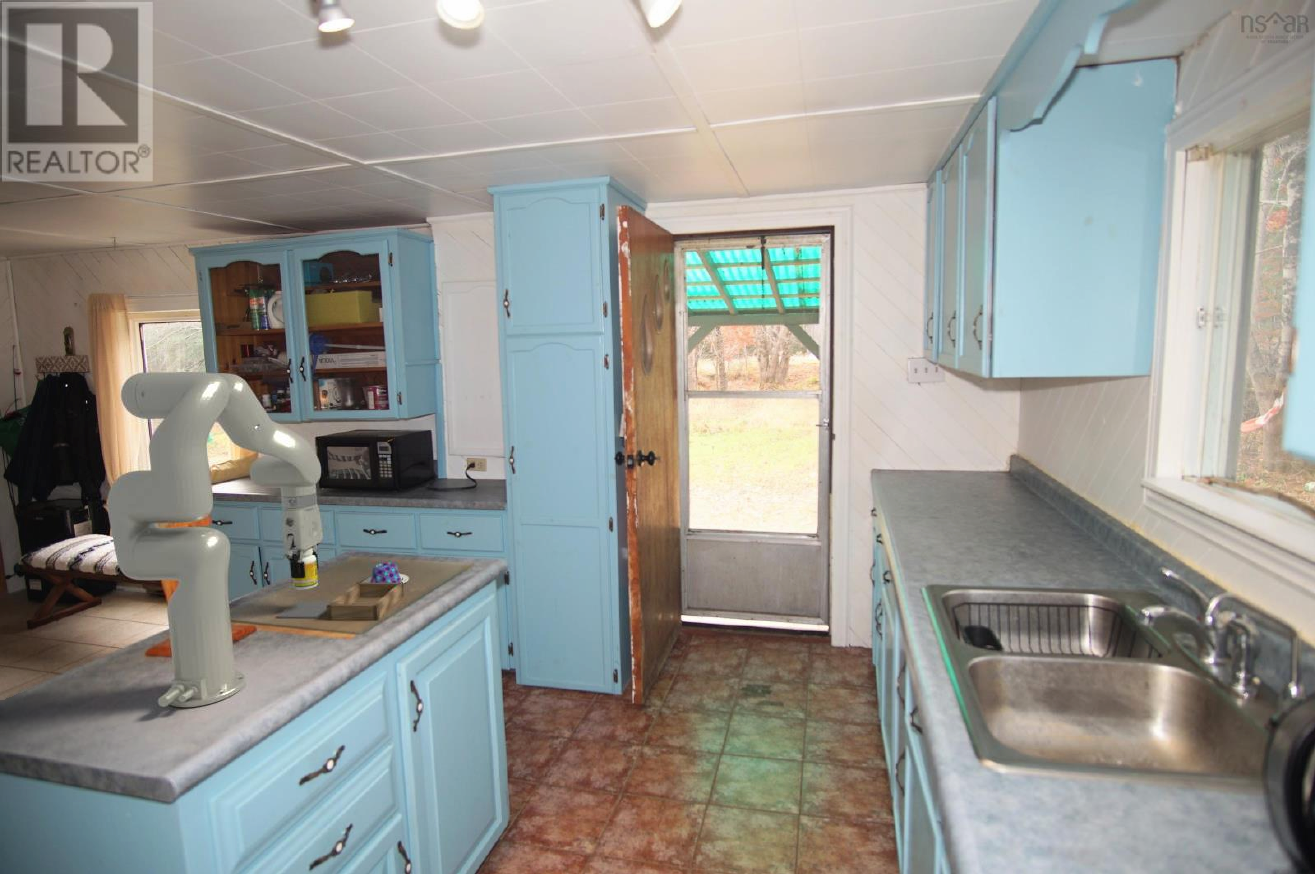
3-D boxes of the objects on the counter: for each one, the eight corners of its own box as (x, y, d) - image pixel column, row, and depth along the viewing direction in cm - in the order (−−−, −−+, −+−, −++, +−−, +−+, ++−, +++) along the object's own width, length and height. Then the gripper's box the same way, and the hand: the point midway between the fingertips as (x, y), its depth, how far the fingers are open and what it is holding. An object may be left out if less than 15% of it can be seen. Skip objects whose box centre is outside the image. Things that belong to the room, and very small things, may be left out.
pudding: (375, 575, 196) (374, 557, 196) (416, 576, 195) (415, 558, 195) (353, 590, 184) (352, 571, 184) (396, 591, 183) (395, 572, 183)
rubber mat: (317, 618, 165) (317, 616, 165) (276, 617, 165) (276, 616, 165) (337, 602, 175) (337, 601, 175) (298, 602, 175) (298, 600, 175)
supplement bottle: (291, 586, 170) (288, 548, 168) (315, 581, 173) (312, 544, 172) (296, 592, 166) (293, 553, 164) (320, 586, 169) (318, 549, 168)
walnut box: (377, 620, 164) (376, 606, 163) (327, 619, 164) (326, 605, 164) (403, 595, 180) (403, 582, 179) (358, 595, 180) (357, 582, 179)
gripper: (295, 509, 158) (301, 586, 160) (332, 493, 175) (337, 562, 177) (263, 509, 158) (269, 585, 161) (303, 493, 175) (308, 562, 178)
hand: (305, 572), depth 169 cm, fingers closed on supplement bottle, 5 cm apart
